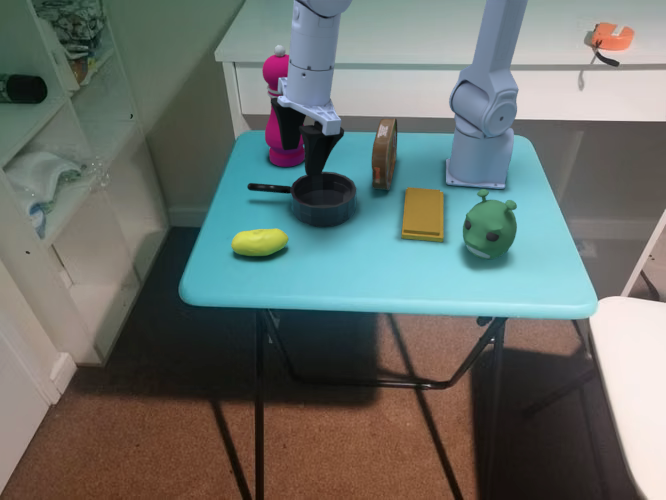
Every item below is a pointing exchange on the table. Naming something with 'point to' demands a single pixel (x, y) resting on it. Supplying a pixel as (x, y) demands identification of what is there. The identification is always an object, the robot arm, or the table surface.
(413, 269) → the table surface
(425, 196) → the yellow flat slab
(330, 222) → the pan
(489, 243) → the alien toy
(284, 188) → the pan handle
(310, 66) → the robot arm
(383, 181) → the tin
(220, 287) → the table surface
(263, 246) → the lemon
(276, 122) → the pepper mill
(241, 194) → the table surface
